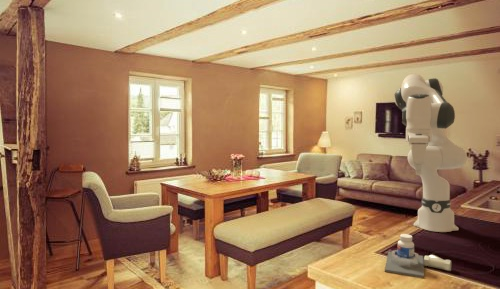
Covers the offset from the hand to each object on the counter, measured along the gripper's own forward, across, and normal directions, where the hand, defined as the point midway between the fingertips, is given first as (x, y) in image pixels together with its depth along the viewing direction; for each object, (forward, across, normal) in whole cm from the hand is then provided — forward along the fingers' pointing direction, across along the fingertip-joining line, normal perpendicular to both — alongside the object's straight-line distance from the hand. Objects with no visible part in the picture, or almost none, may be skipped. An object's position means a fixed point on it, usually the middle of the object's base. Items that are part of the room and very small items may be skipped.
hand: (418, 173), depth 131 cm
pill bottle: (+30, +13, -4) cm, 33 cm away
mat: (+31, +13, -4) cm, 34 cm away
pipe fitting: (+32, +10, +7) cm, 34 cm away
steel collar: (+31, +13, -4) cm, 34 cm away
